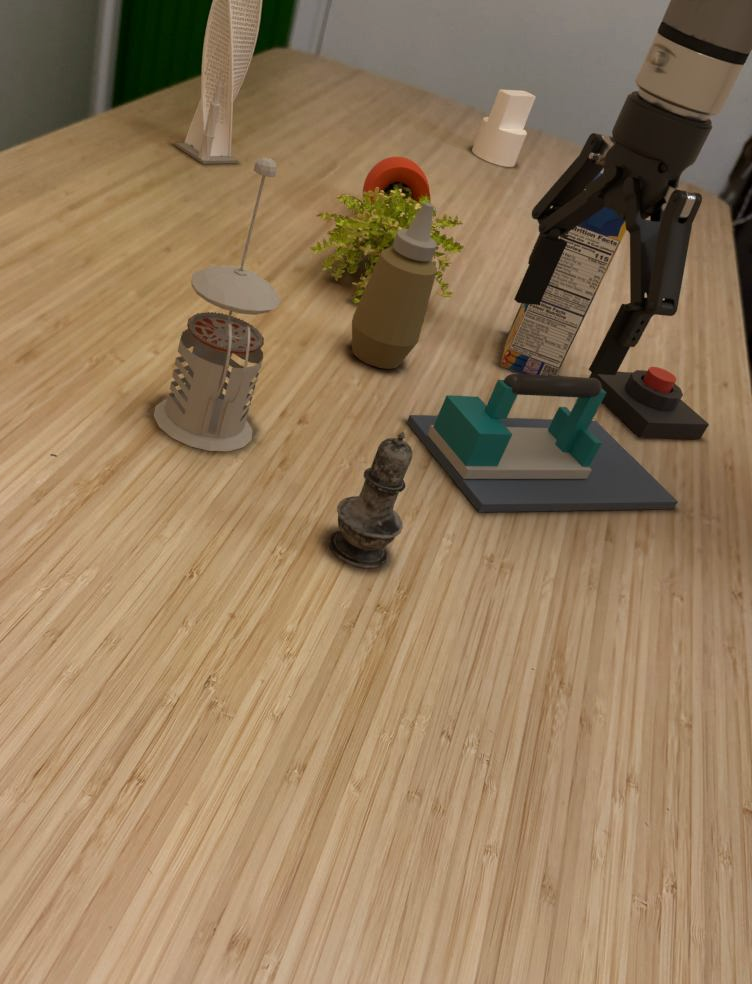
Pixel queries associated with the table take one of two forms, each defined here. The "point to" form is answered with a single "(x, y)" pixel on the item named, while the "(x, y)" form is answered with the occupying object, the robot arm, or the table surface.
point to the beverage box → (564, 297)
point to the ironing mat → (606, 487)
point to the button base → (650, 407)
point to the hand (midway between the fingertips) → (562, 336)
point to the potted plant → (384, 219)
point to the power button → (659, 379)
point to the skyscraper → (222, 78)
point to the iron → (520, 431)
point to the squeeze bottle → (396, 296)
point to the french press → (219, 355)
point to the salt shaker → (373, 508)
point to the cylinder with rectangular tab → (504, 128)
